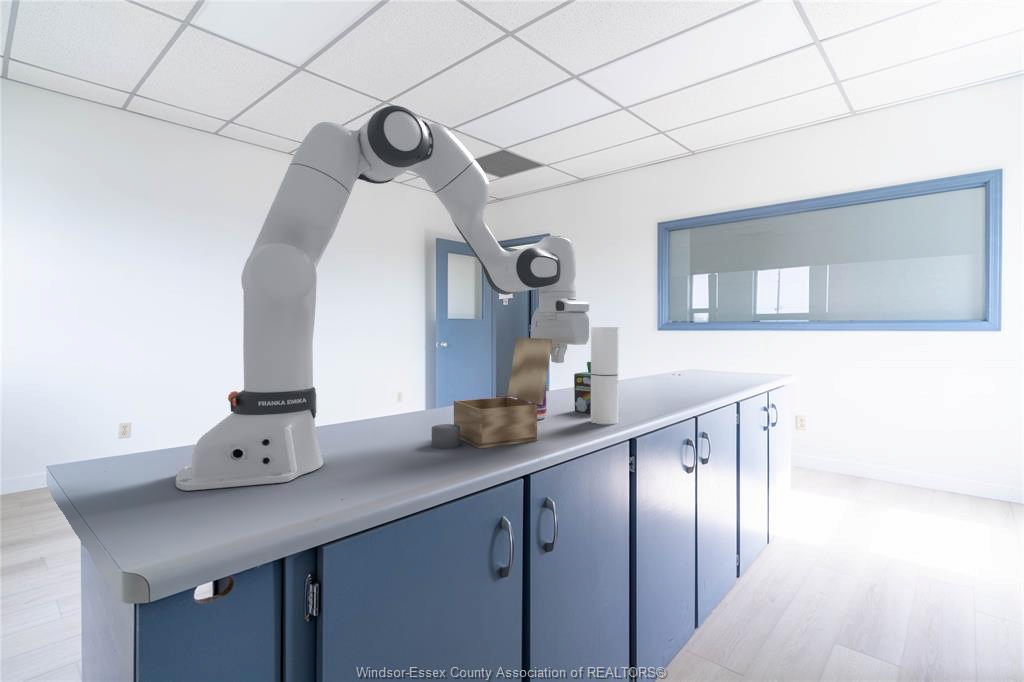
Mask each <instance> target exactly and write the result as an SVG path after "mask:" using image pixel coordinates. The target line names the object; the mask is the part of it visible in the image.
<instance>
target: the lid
mask: <svg viewBox="0 0 1024 682" xmlns="http://www.w3.org/2000/svg"><path fill="white" fill-rule="evenodd" d="M551 345H552V339H542V338H531V337H517V336H516V338H515V346H514V352H513V357H512V366H511V370H510V378H509V384H508V389H507V390H508V391H507V397H510V398H514V399H520V400H524V401H528V402H532V403H536V404H540V405H543V399H544V392H545V386H546V387H547V379H548V371H549V365H550V360H551V359H550V358H551V354H550V352H551Z"/></svg>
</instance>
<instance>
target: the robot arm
mask: <svg viewBox="0 0 1024 682" xmlns="http://www.w3.org/2000/svg"><path fill="white" fill-rule="evenodd" d="M288 165H289V166H288V168H287V170H286V172H285V174H284V177H283V179H282V182H281V183H280V185H279V188H278V189H277V192H276V195H275V197H274V199H273V202H272V204H271V206H270V207H269V211H268V213H267V215H266V218H264V219H265V220H264V222H263V225H262V226H261V229H260V232H259V233H258V235H257V238H256V240H255V243H254V245H253V247H252V249H251V252H250V254H249V256H248V257H247V259H246V261H245V263H244V267H243V270H242V272H241V287H242V290H243V335H242V336H243V340H242V341H243V342H242V343H243V346H242V347H243V349H242V351H243V352H242V353H243V390H241V391H240V392H239V391H237V390H234V391H231V392H230V393H229V394H228V397H227V400H228V401H229V403H230V404H229V405H230V412H231V413H230V414H229V415H227V416H226V417H225V418H224V419H222V420H221V421H220V422H218V423H217V424H216V425H215V426H213V427H211V428H210V429H209V430H208V431H207V432H205V433H204V434H203V435H201V437H200V438H199V439H198V441H197V442H196V444H195V446H194V449H193V451H192V452H193V453H192V457H191V464H190V465H187V466H185V467H183V468H182V469H180V470H179V471H178V472H177V474H176V477H175V487H176V488H177V489H179V490H182V491H197V490H198V491H199V490H211V489H223V488H234V487H247V486H256V485H266V484H277V483H278V484H279V483H287V482H290V481H293V480H294V479H296V478H298V477H299V476H302V475H305V474H309V473H311V472H314V471H316V470H317V469H320V468H321V467H322V466H323V465H324V460H323V456H322V454H321V449H320V446H319V441H318V440H319V439H318V437H317V430H316V428H317V427H316V422H315V421H316V420H315V418H316V417H317V413H318V412H317V410H318V409H317V407H318V406H317V402H318V401H317V392H316V388H315V387H314V376H313V375H314V373H313V372H314V371H313V369H314V365H313V362H314V361H313V357H314V356H313V355H314V354H313V353H314V352H313V343H314V342H313V340H314V330H315V319H316V318H315V317H316V301H317V283H318V282H317V281H318V280H317V279H318V278H317V277H318V276H317V268H318V265H319V263H320V261H321V259H322V258H323V255H324V253H325V251H326V249H327V247H328V245H329V243H330V241H331V240H332V238H333V237H334V234H335V231H336V229H337V227H338V225H339V222H340V220H341V217H342V215H343V212H344V210H345V208H346V205H347V204H348V203H347V202H348V201H349V198H350V196H351V193H352V191H353V188H354V185H355V183H356V181H357V180H361V181H364V182H367V183H369V184H375V185H377V184H378V185H382V184H387V183H389V182H391V181H393V180H395V178H397V177H399V176H401V175H403V174H405V172H407V171H409V172H413V174H416V175H418V176H419V177H420V178H421V179H423V180H424V181H425V183H426V184H427V186H428V187H429V188H430V190H431V191H432V193H434V195H435V196H436V197H437V198H438V200H439V201H440V202H441V204H442V205H443V206H444V208H445V210H447V212H448V214H449V216H450V217H451V220H452V222H453V224H454V226H455V228H456V229H457V230H458V232H459V234H460V236H461V237H462V238H463V240H464V241H465V242H466V244H467V246H468V248H469V249H470V250H471V251H472V253H473V255H474V256H475V257H476V259H477V260H478V262H479V263H480V265H481V267H482V270H483V272H484V275H485V277H486V281H487V283H488V284H489V287H491V289H492V290H493V291H494V292H496V293H498V294H500V295H504V296H507V295H511V294H515V293H519V292H526V291H527V292H528V291H533V290H538V302H539V303H538V306H537V307H536V309H535V311H534V312H533V315H532V317H531V323H530V338H542V339H552V345H551V352H550V358H551V359H550V361H551V363H556V364H563V363H564V362H565V355H566V352H567V350H568V345H575V346H576V345H578V346H579V345H580V346H581V345H582V346H583V345H587V344H588V342H589V338H590V319H589V318H590V317H589V314H588V312H589V311H590V303H588V302H587V301H585V300H584V299H583V300H582V299H580V298H579V297H577V290H576V287H575V278H576V274H577V272H576V271H577V268H576V267H577V266H576V265H577V263H576V252H575V247H574V245H573V242H572V240H570V239H568V238H566V237H564V236H560V235H557V236H556V235H547V236H544V237H542V239H541V240H539V241H538V242H536V243H534V244H532V245H530V246H527V247H525V248H520V249H517V250H514V251H508V250H506V249H504V248H503V247H502V246H501V245H500V244H499V241H497V239H496V237H495V236H494V235H493V233H492V231H491V230H490V229H489V227H488V225H487V224H486V222H485V218H484V215H485V214H484V212H485V209H486V207H487V204H488V202H489V200H490V196H491V195H490V194H491V184H490V181H489V178H488V177H487V175H486V173H485V171H484V169H482V166H480V164H479V163H478V161H477V160H476V159H475V158H474V156H473V155H472V153H471V152H470V151H469V150H468V149H467V148H466V147H465V145H464V144H463V143H462V142H461V140H459V139H458V138H457V137H456V135H454V133H452V132H451V131H450V130H449V129H448V128H447V127H445V126H444V125H443V124H440V123H430V124H428V123H427V121H424V120H422V119H421V118H420V117H419V116H418V115H417V114H416V113H414V112H413V111H412V110H410V109H408V108H407V107H404V106H400V105H389V106H384V107H383V108H380V109H378V110H377V111H376V112H374V113H373V114H372V116H371V117H370V118H369V119H368V120H367V121H366V122H365V123H364V124H363V125H362V126H361V127H360V128H359V129H357V130H353V129H349V128H347V127H345V126H343V124H342V125H341V124H340V123H336V122H333V121H322V122H318V123H316V124H315V125H314V126H312V128H311V129H310V131H309V132H308V133H307V134H306V136H305V137H304V138H303V140H302V142H301V143H300V145H298V148H297V150H296V151H295V153H294V155H293V157H292V159H291V161H290V163H289V164H288Z"/></svg>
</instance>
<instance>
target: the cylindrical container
mask: <svg viewBox="0 0 1024 682" xmlns="http://www.w3.org/2000/svg"><path fill="white" fill-rule="evenodd" d="M619 329H620V327H617V326H613V327H612V326H610V327H609V326H600V327H599V326H594V327H593V326H591V327H590V362H591V414H590V423H592V424H595V423H596V424H597V425H615V424H618V423H619V355H620V352H619V341H620V339H619V336H620V334H619V332H620V330H619Z"/></svg>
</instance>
